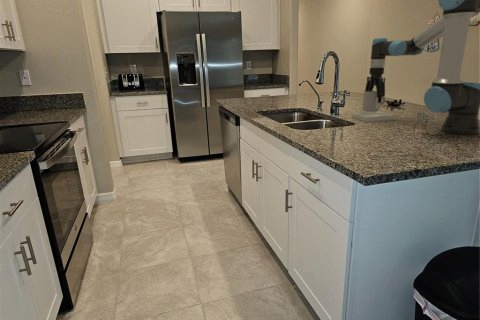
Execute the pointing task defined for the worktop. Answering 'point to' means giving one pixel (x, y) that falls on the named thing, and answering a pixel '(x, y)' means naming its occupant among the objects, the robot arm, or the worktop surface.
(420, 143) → the worktop surface
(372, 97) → the mug
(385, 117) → the tray
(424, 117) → the worktop surface
